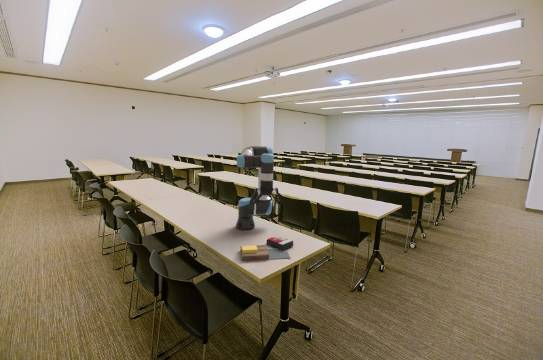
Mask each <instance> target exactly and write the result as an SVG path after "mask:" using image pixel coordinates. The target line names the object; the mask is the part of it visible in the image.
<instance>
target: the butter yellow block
mask: <svg viewBox="0 0 543 360" xmlns="http://www.w3.org/2000/svg"><path fill="white" fill-rule="evenodd" d="M241 246H242V253H257V250H258V249H257V246H256V245H253V244H252V245H241Z"/></svg>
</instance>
